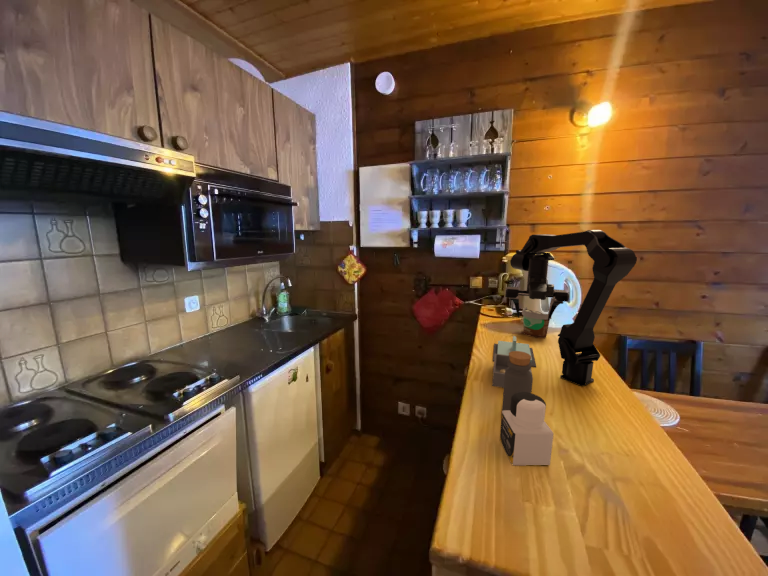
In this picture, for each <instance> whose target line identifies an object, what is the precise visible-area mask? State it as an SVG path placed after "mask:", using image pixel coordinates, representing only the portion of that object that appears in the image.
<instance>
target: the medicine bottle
mask: <svg viewBox="0 0 768 576" xmlns="http://www.w3.org/2000/svg"><path fill="white" fill-rule="evenodd" d="M546 406H547V404H546V401H545V400H544V399H543V398H542V397H541V396H539V395H537V394H534V393H532V392H531V393H528V392H517V393H515V394H513V395H512V397H511V406H510V410H503V411H502V410H501V417H500V418H501V419H500V431H499V441H500V444H501V446H502V447H503V450H504V452H505V454H506V456H507V458H508V460H509V462H510V464H511V465H512V464H513V465H512V466H526V465H549V466H550V465H551V461H552V460H551V459H552V452H553V451H552V449H553V441H554V431H553V430H552V429H551V427H550V426H549V425H548V423H547V422H546V421H545V418H546V408H547V407H546Z"/></svg>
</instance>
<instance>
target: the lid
mask: <svg viewBox="0 0 768 576" xmlns="http://www.w3.org/2000/svg"><path fill="white" fill-rule="evenodd" d="M497 344H498V352H497V354H502V355H509V353H510V352H512V351H521V352H525V353H528V354H529V355H530V356H531V352H530V348H531V347H530V344H529V343H521V342H518V341H517V336H515V335H512V341H505V340H504V341H503V340H497ZM530 362H532V357H531V359H530Z"/></svg>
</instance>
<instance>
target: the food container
mask: <svg viewBox="0 0 768 576" xmlns="http://www.w3.org/2000/svg"><path fill="white" fill-rule="evenodd" d="M521 315H522V316H523V325H522V327H523V334H524V333H525V334H524V335H525V336H529V337H532V338H540V339H541V338H542V339H543V338H547V335H548V332H549V331H548V330H549V325H550V320H552V317H551V318H550V320H548V313H542V312H540V311H537V310H531V309H528V306H527V307H524V308H523V309H522V311H521Z"/></svg>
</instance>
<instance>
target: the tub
mask: <svg viewBox="0 0 768 576" xmlns="http://www.w3.org/2000/svg"><path fill="white" fill-rule="evenodd" d="M508 359H510V358H509V355H502V354H495V356H494V361H493V369H492V370H493V371H492V385H491V387H497V388H503V389H504V377H505V370H506V369H507V368H509V366H508V365H507V361H508ZM528 371H529V372H530V373H531V374H532V375H533V372H532V368H531V369H530V370H528ZM533 380H534V378H533V376H532V383H533ZM532 391H533V384H532V385H531V393H532Z"/></svg>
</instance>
